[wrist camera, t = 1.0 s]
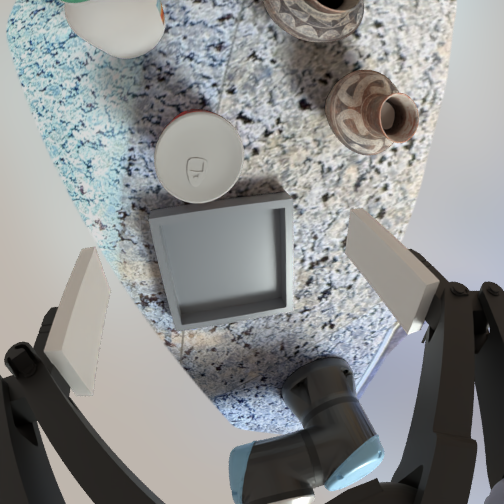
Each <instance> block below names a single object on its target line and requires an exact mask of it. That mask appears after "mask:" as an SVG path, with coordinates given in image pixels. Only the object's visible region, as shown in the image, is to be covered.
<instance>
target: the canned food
mask: <svg viewBox="0 0 504 504" xmlns="http://www.w3.org/2000/svg"><path fill="white" fill-rule="evenodd" d="M243 163H244V150H243V144H242V141H241V138H240V136H239V134H238V132H237V131H236V129H235V128H234V127H233V126H232V124H231V123H230V122H229V121H227V120H226V119H224V118H223V117H221V116H220V115H217V114H215V113H213V112H210V111H207V110H203V109H192V110H187V111H185V112H182V113H180V114H179V115H177V116H176V117H175V118H174V119H173V120H172V121H171V122H170V123H169V124H168V125H167V126H166V127H165V129H164V130H163V132H162V133H161V135H160V137H159V139H158V142H157V144H156V148H155V153H154V165H155V170H156V174H157V176H158V179H159V181H160V183H161V184H162V185H163V187H164V188H165V189H166V190H167V191H168V192H169V193H170V194H171V195H172V196H174V197H176V198H177V199H179V200H182V201H185V202H189V203H206V202H210V201H213V200H215V199H218V198H220V197H221V196H223V195H224V194H226V193H227V192H228V191H229V190H230V189H231V188H232V187H233V186H234V184H235V183H236V181H237V180H238V178H239V176H240V174H241V171H242V167H243Z"/></svg>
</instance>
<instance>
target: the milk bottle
mask: <svg viewBox="0 0 504 504" xmlns="http://www.w3.org/2000/svg"><path fill="white" fill-rule="evenodd" d="M61 1H62V2H64V3H65V15H66V19H67V21H68V24H69V26H70V27H71V29H72V30H73V31H74V32H75V33H76V34H77V35H78V36H79V37H81V38H82V39H83V40H85V41H86V42H88V43H90V44H91V45H93V46H95V47H97V48H98V49H100V50H102V51H104V52H106V53H107V54H109V55H111V56H114V57H117V58H121V59H131V58H136V57H139V56H142V55H144V54H146V53H147V52H149V51H150V50H152V49H153V48H154V47H155V46H156V45H157V44H158V42H159V41H160V39H161V38H162V36H163V33H164V30H165V16H164V12H163V8H162V4H161V0H61Z"/></svg>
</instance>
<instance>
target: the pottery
mask: <svg viewBox="0 0 504 504" xmlns="http://www.w3.org/2000/svg"><path fill="white" fill-rule="evenodd" d="M263 1H264V5H265V7H266V10H267V12H268V14H269V15H270V17H271V18H272V19H273V20H274V22H275V23H276V24H277V25H278V26H279V27H281V28H282V29H283V30H284V31H286V32H287V33H289V34H291V35H292V36H294V37H296V38H298V39H302V40H306V41H310V42H332V41H337V40H341V39H343V38H345V37H347V36H349V35H350V34H352V33H353V32H354V31H355V30H356V29H357V28H358V26H359V24H360V23H361V20H362V18H363V14H364V3H363V0H263ZM325 112H326V115H327V119H328V122H329V125H330V128H331V129H332V131H333V133H334V134H335V135H336V137H337V138H338V139H339V140H340V141H341V142H342V143H343V144H344V145H345V146H346V147H347V148H349V149H350V150H352V151H354V152H356V153H358V154H362V155H375V154H378V153H381V152H383V151H385V150H386V149H387V148H389V147H390V146H391V145H392V144H393V143H394V142H395V143H403V142H406V141H408V140H409V139H410V138H411V137H412V136H413V135H414V134H415V132H416V130H417V127H418V122H419V115H418V110H417V107H416V105H415V103H414V101H413V100H412V99H411V98H410V97H409V96H407V95H406V94H403V93H399V92H398V90H397V88H396V87H395V85H394V84H393V83H392V82H391V81H390V80H389V79H388V78H387V77H386V76H384V75H383V74H381V73H379V72H376V71H372V70H358V71H354V72H352V73H349V74H348V75H346V76H344V77H343V78H342V79H340V80H339V81H338V82H337V83H336V84H335V86H334V87H333V89H332V90H331V92H330V93H329V95H328V97H327V99H326V104H325Z"/></svg>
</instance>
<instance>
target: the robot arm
mask: <svg viewBox="0 0 504 504" xmlns="http://www.w3.org/2000/svg"><path fill="white" fill-rule="evenodd" d="M345 254H346V255H347V256H348V257H349V259H350V260H351V261H352V262H353V264H354V265H355V266H356V267H357V269H358V270H359V271H360V272H361V274H362V275H363V276H364V277H365V279H366V280H367V281H368V283H369V284H370V285H371V286H372V288H373V289H374V290H375V292H376V293H377V294H378V295H379V297H380V298H381V299H382V301H383V302H384V303H385V305H386V306H387V307H388V309H389V310H390V311H391V313H392V314H393V315H394V317H395V318H396V319H397V321H398V322H399V323H400V325H401V326H402V328H403V329H404V330H405V332H406V333H407V334H411V333H413V332H416V331H419V330H421V328H422V325H423V323H424V321H425V320H426V322H427V323H428V324H429V327H428V329H427V331H426V333H425V336H424V338H423V340H422V343H424V341H425V340H426V342H425V350H424V357H423V364H422V371H421V377H420V383H419V388H418V394H417V399H416V404H415V409H414V413H413V418H412V422H411V427H410V431H409V434H408V438H407V442H406V446H405V449H404V453H403V457H402V460H401V462H400V465H399V467H398V468H397V470H396V471H395V473H394V475H393V477H392V480H391V482H381V483H379V481H378V479H377V478H376V479H374V480H371V481H369V482H367V483H364V484H361V485H359V486H356V487H354V488H351V489H348V490H347V491H345V492H343V493H341V494H340V495H338V496H337V497H335V498H334V499H332V500H330V501H329V502H327V503H325V504H467V503H468V498H469V494H470V489H471V484H472V479H473V473H474V468H475V461H476V455H477V442H476V440H473V439H471V426H472V416H473V401H474V381H475V386H476V391H477V396H478V401H479V407H480V413H481V419H482V427H483V435H484V443H485V453H486V465H487V473H488V478H489V484H490V488H491V492H490V495H489V496H488V497H487V498H486V500H485V502H484V504H504V291H503V290H502V288H501V287H500V286H498V285H497V284H495V283H493V282H484V283H483V284H482V286H481V289H480V291H469V290H468V288H467V287H465V286H464V285H463V284H460V283H458V282H448V281H447V280H446V279H445V278H444V277H443V276H442V275H441V274H440V273H439V272H438V271H437V270H436V269H435V268H434V267H433V266H432V265H431V264H430V263H429V262H428V261H426V259H425V258H424V257H423V256H422V255H421V254H419V253H417V252H416V251H414V250H412V249H407V248H406V247H405V246H404V245H403V244H402V243H401V242H400V241H399V240H398V239H396V238H395V237H394V236H393V235H392V234H391V233H390V232H389V231H388V230H387V229H386V228H384V227H383V226H382V225H381V224H380V223H379V222H378V221H377V220H376V219H374V218H373V217H372V216H371V215H370V214H369V213H368V212H366V211H365V210H364V209H363V208H359V209H350V218H349V226H348V235H347V243H346V250H345ZM110 292H111V289H110V287H109V284H108V281H107V279H106V276H105V273H104V271H103V268H102V265H101V262H100V259H99V256H98V253H97V250H96V247H90V248H85V249H82V250H81V252H80V254H79V257H78V259H77V261H76V264H75V266H74V268H73V271H72V273H71V276H70V278H69V281H68V283H67V286H66V288H65V291H64V293H63V296H62V299H61V301H60V304H59V307H53V308H51V309H50V310H49V311H48V312H47V314H46V315H45V316H44V319H43V322H42V327H41V328H40V330H39V334H38V336H37V339H36V342H35V345H34V348H32V346H31V345H30V344H29V343H27V342H19V343H17V344H15V345H13V346H12V347H11V348H10V349H9V350H8V352H7V353H6V355H5V359H4V362H5V365H6V367H7V368H8V369H9V370H10V372H11V373H12V374H13V375H12V376H9V377H6V378H2V377H1V376H0V504H66V503H65V501H64V499H63V496H62V494H61V492H60V489H59V487H58V484H57V482H56V479H55V477H54V474H53V471H52V469H51V466H50V463H49V460H48V457H47V454H46V451H45V448H44V445H43V442H42V438H41V435H40V431H39V428H38V424H37V421H38V422H39V424H40V426H41V427H42V429H43V431H44V432H45V434H46V436H47V437H48V439H49V441H50V442H51V444H52V445H53V447H54V449H55V450H56V452H57V453H58V455H59V456H60V458H61V459H62V461H63V462H64V464H65V465H66V466H67V468H68V469H69V471H70V472H71V474H72V475H73V476H74V478H75V479H76V480H77V482H78V483H79V484H80V486H81V487H82V488H83V490H84V491H85V492H86V493H87V495H88V496H89V497H90V498H91V500H92V501H93V502H94V503H95V504H165V503H164V502H163V501H162V500H160V498H158V497H157V496H156V495H155V494H154V493H153V492H152V491H151V490H150V489H149V488H148V487H147V486H146V485H145V484H144V483H143V482H141V480H139V479H138V477H137V476H136V475H135V474H134V473H133V472H132V471H131V470H130V469H129V468H127V466H126V465H125V464H124V463H123V462H122V461H121V460H120V459H119V458H118V457H117V455H116V454H115V453H114V452H113V451H112V450H111V449H110V447H109V446H108V445H107V444H106V443H105V442H104V440H103V439H102V438H101V437H100V436H99V434H98V433H97V432H96V431H95V429H94V428H93V427H92V426H91V425H90V423H89V422H88V421H87V419H86V418H85V417H84V415H83V414H82V413H81V411H80V410H79V409H78V407H77V406H76V405H75V403H74V402H73V401H72V399H71V398H70V397H69V393H70V388H71V389H72V391H73V392H74V393H75V394H76V395H77V396H93V392H94V384H95V376H96V369H97V362H98V356H99V349H100V343H101V337H102V332H103V327H104V321H105V316H106V311H107V306H108V302H109V297H110ZM489 327H490V333H489V330H488V328H489ZM282 396H283V399H284V402H285V404H286V406H287V407H288V408H289V409H290V410H291V412H292V413H293V414H294V415H295V416H296V417H297V418H298V419H299V421H300V422H301V423H302V425H303V428H304V429H303V430H299V431H295V432H292V433H288V434H285V435H281V436H277V437H273V438H269V439H264V440H260V441H253V442H252V443H248V444H245V445H241V446H237V447H235V448H234V449H233V450H232V451H231V453H230V457H229V479H230V486H231V490H232V496H233V500H234V503H235V504H312V502H313V500H314V498H315V494H314V491H313V488H315V487H319V486H322V485H325V488H326V489H328V490H329V491H335V490H337V489H342V488H344V487H347V486H349V485H351V484H352V483H355V482H356V481H358V480H360V479H361V478H363V477H365V476H366V475H367V474H369V473H370V472H371V471H373V470H374V469H375V468H376V467H377V466H378V465H379V464H380V462H381V461H382V460H383V457H384V449H383V447H382V445H381V443H380V441H379V436H378V435H377V434H376V432H375V430H374V428H373V426H372V424H371V423H370V421H369V419H368V417H367V415H366V414H365V412H364V410H363V408H362V406H361V405H360V403H359V401H358V399H357V395H356V387H355V380H354V374H353V371H352V369H351V368H350V366H349V364H348V363H347V362H346V361H345V360H342V359H339V358H325V359H320V360H317V361H314V362H311V363H309V364H307V365H305V366H303V367H301V368H299V369H298V370H296V371H295V372H294V373H293V374H291V375H290V376H289V377H288V379H287V380H286V381H285V383H284V384H283V387H282Z"/></svg>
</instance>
